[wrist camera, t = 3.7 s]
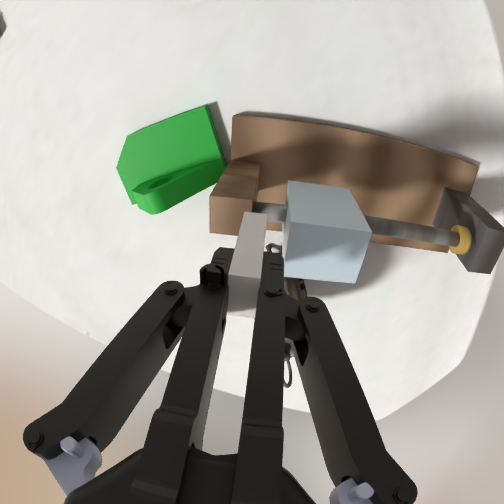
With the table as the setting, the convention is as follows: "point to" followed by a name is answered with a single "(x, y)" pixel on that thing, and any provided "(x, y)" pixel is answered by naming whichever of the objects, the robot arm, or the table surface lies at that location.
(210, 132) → the bracket
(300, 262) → the light blue block
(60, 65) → the table surface
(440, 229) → the wooden slider rail stand
